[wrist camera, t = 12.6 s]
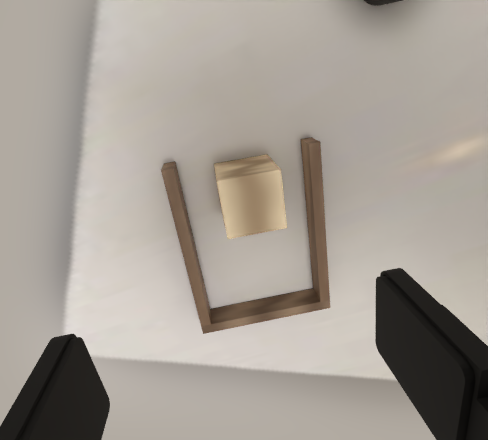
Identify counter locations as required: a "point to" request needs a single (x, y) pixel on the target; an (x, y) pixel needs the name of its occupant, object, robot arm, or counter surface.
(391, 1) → the drinking cup
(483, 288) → the counter surface
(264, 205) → the light wooden block
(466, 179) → the counter surface
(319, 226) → the bay
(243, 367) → the counter surface
